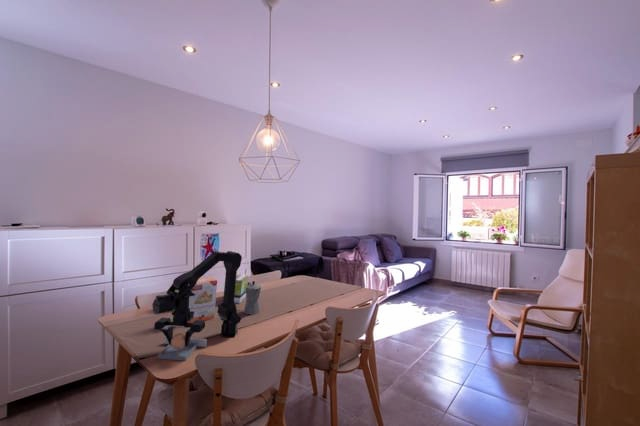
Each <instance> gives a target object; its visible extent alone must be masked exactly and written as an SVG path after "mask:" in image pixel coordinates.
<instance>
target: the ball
mask: <svg viewBox="0 0 640 426" xmlns="http://www.w3.org/2000/svg"><path fill="white" fill-rule="evenodd" d="M185 335H186V334H184V333H180V332H179V333H177V334H175V335H173V338H172V340H171V346H172V347H173V348H174V349H181V348H183V347H184V346H185Z"/></svg>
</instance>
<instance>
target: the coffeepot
mask: <svg viewBox="0 0 640 426" xmlns="http://www.w3.org/2000/svg"><path fill="white" fill-rule="evenodd" d="M255 283H256V282H255V281H252V282H248V284H247V285H246V287H245V288H246V297H245V298H246V301H245V304H244V305H245V306H244V309H243V313H244V314H245V313H246V314H245V315H248V314H255V315H258V314H260V305H259V298H260V293H261V289H262V285H259V284H255ZM257 313H258V314H257Z"/></svg>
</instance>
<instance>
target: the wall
mask: <svg viewBox="0 0 640 426" xmlns="http://www.w3.org/2000/svg"><path fill="white" fill-rule="evenodd" d="M207 342H208V339H206V338H192V337H191V338H190V341H189V343H195V344H197V348H198V347H203V348H206V347H207ZM164 345H169V342H168V340H167V338H166V336H165V335H164Z"/></svg>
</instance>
